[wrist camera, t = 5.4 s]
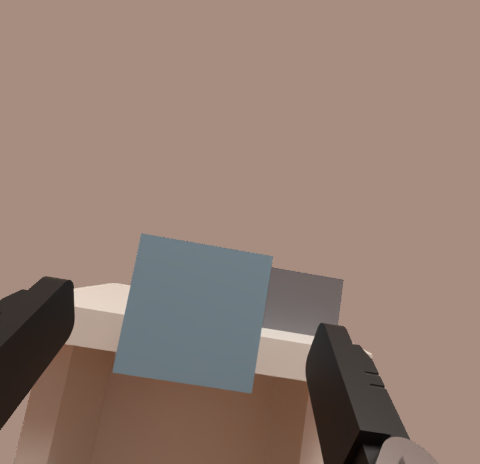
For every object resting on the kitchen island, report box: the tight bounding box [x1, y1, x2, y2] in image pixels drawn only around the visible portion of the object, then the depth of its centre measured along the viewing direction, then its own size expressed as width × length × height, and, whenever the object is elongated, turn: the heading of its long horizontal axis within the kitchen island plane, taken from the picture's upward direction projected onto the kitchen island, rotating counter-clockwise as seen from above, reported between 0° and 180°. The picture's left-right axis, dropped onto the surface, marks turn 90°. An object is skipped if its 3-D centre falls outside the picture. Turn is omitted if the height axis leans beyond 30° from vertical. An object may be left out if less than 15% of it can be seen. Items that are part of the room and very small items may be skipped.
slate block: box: [112, 234, 273, 394], centre depth 20 cm, size 4×22×4 cm, turn 4°
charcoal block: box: [262, 267, 343, 336], centre depth 23 cm, size 5×5×4 cm
